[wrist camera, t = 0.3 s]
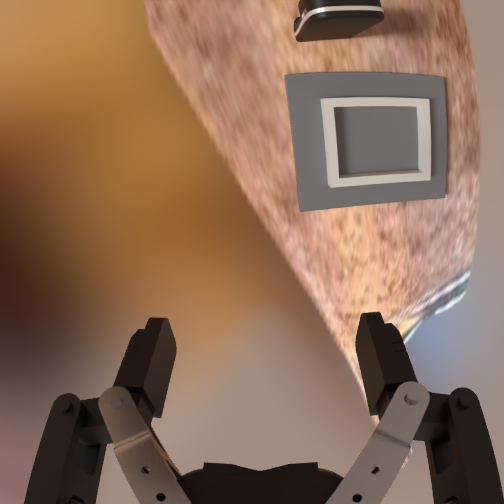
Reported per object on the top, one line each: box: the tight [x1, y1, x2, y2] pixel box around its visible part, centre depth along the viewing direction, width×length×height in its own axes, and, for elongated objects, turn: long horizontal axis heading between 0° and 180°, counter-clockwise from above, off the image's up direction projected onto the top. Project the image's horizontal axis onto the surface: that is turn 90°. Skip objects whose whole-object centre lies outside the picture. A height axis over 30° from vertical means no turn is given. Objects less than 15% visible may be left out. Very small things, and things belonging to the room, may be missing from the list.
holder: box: [284, 72, 447, 212], centre depth 33 cm, size 16×20×3 cm
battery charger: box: [294, 0, 384, 42], centre depth 23 cm, size 7×4×11 cm, turn 102°
